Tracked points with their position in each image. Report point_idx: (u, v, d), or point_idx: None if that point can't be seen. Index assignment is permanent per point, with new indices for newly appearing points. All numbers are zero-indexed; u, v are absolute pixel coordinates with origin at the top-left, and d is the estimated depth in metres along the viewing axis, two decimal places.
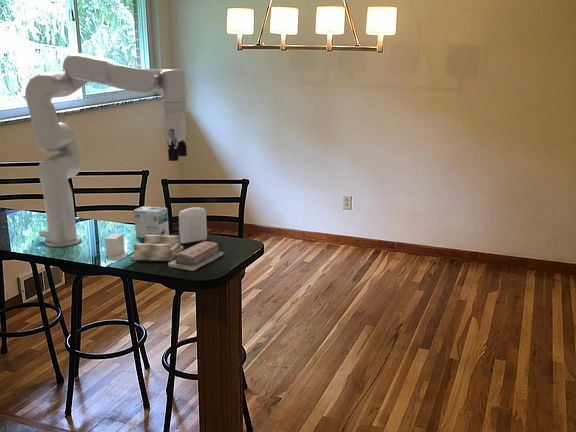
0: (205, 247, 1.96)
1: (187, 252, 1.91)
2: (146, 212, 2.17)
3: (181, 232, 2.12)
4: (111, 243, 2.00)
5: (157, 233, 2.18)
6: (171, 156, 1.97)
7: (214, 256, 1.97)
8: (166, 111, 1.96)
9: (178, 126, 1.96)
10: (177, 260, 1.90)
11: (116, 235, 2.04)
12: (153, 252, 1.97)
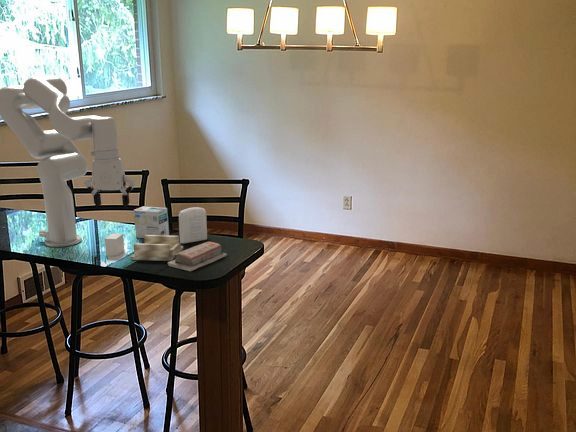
0: (206, 247, 1.95)
1: (187, 252, 1.91)
2: (146, 212, 2.17)
3: (181, 232, 2.12)
4: (111, 243, 2.00)
5: (157, 233, 2.18)
6: (127, 201, 1.98)
7: (215, 257, 1.96)
8: (114, 159, 1.94)
9: None
10: (176, 260, 1.90)
11: (116, 235, 2.04)
12: (153, 252, 1.97)
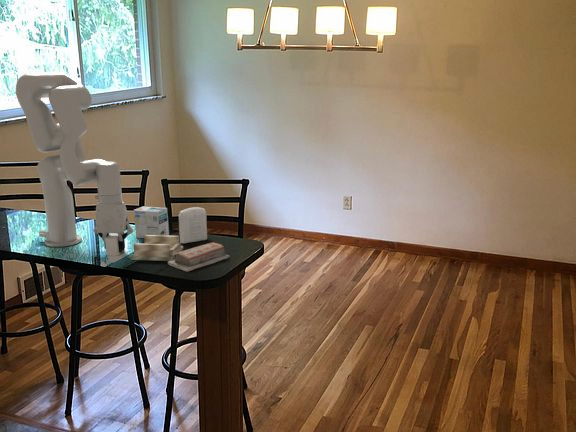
0: (208, 248, 1.94)
1: (186, 252, 1.90)
2: (146, 212, 2.17)
3: (181, 232, 2.12)
4: (111, 243, 2.01)
5: (157, 233, 2.18)
6: (123, 247, 2.03)
7: (217, 258, 1.95)
8: (117, 203, 1.98)
9: None
10: (175, 259, 1.90)
11: (116, 234, 2.04)
12: (153, 252, 1.97)
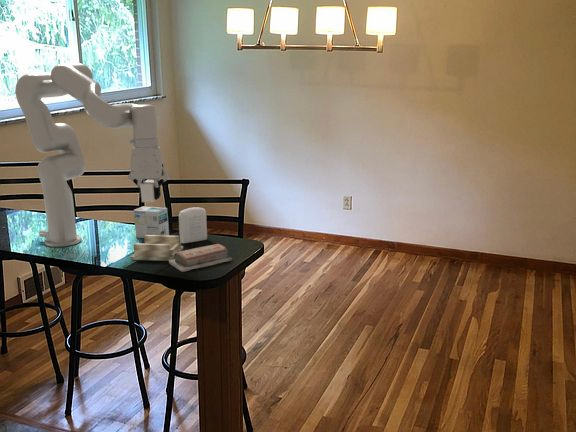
0: (209, 250, 1.93)
1: (186, 252, 1.90)
2: (146, 212, 2.17)
3: (181, 232, 2.12)
4: (147, 189, 1.94)
5: (157, 233, 2.18)
6: (159, 194, 1.97)
7: (217, 260, 1.93)
8: (153, 147, 1.91)
9: None
10: (175, 259, 1.91)
11: (151, 181, 1.97)
12: (153, 252, 1.97)
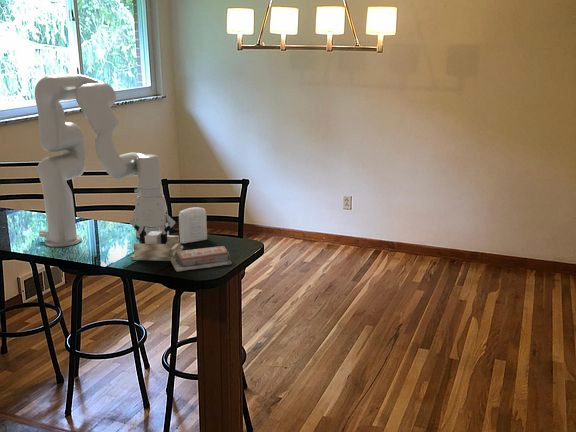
0: (209, 252, 1.91)
1: (185, 252, 1.90)
2: None
3: (181, 232, 2.12)
4: (151, 241, 1.99)
5: None
6: (166, 240, 2.00)
7: (216, 263, 1.90)
8: (157, 196, 1.95)
9: None
10: (176, 258, 1.92)
11: (156, 233, 2.02)
12: (153, 252, 1.97)
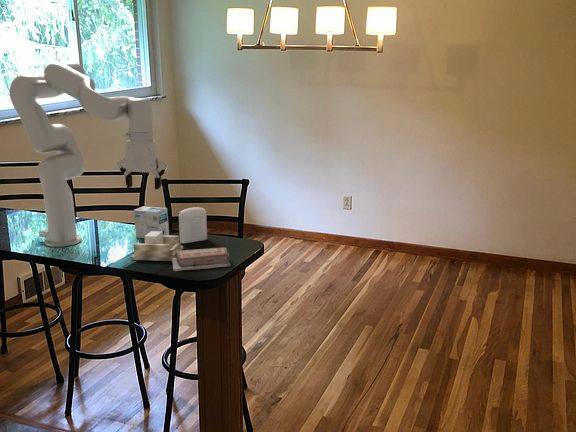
0: (208, 253, 1.90)
1: (185, 252, 1.90)
2: (146, 212, 2.17)
3: (181, 232, 2.12)
4: (151, 241, 1.99)
5: None
6: (159, 184, 1.98)
7: (214, 264, 1.89)
8: (148, 141, 1.93)
9: None
10: (176, 257, 1.92)
11: (156, 233, 2.02)
12: (153, 252, 1.97)
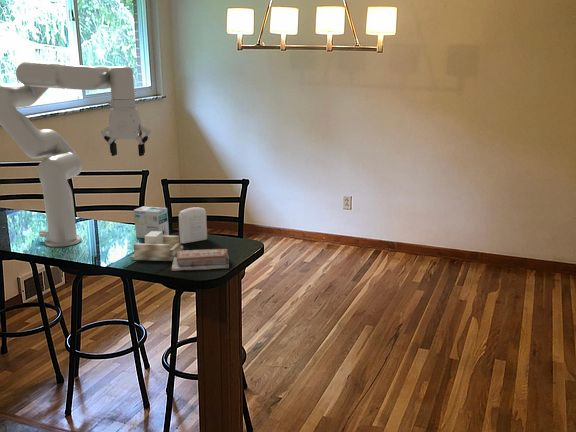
0: (207, 253, 1.89)
1: (185, 252, 1.90)
2: (146, 212, 2.17)
3: (181, 232, 2.12)
4: (151, 241, 1.99)
5: None
6: (143, 151, 2.02)
7: (212, 266, 1.88)
8: (130, 108, 1.97)
9: None
10: None
11: (156, 233, 2.02)
12: (153, 252, 1.97)
